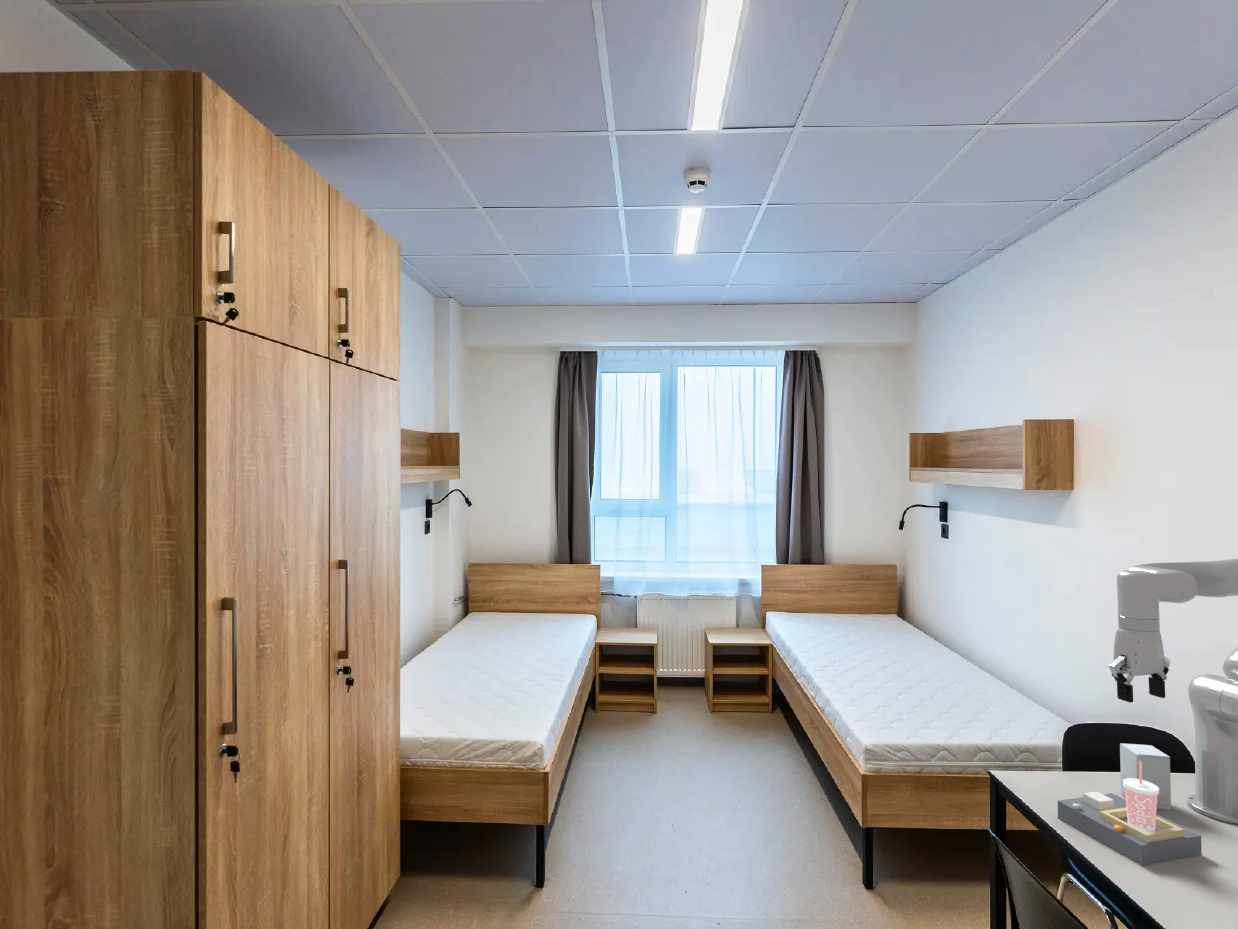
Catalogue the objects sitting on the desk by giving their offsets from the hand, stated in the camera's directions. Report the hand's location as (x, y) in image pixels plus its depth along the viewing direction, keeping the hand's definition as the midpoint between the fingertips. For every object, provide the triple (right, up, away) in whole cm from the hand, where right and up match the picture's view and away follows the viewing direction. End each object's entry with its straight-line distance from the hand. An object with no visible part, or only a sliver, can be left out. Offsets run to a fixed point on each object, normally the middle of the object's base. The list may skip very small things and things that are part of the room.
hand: (1141, 698), depth 150 cm
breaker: (-12, -26, -3) cm, 28 cm away
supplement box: (+7, -28, +8) cm, 30 cm away
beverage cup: (-9, -24, -12) cm, 28 cm away
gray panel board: (-10, -28, -7) cm, 30 cm away
